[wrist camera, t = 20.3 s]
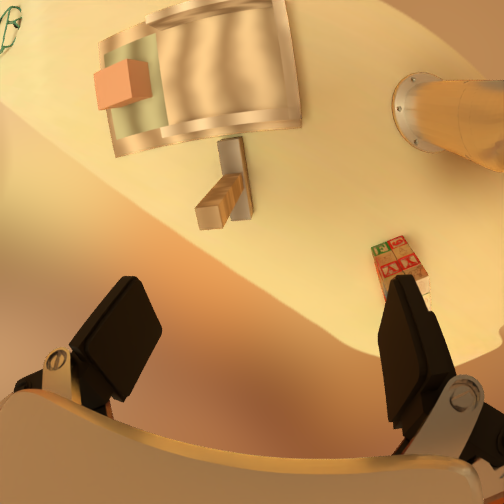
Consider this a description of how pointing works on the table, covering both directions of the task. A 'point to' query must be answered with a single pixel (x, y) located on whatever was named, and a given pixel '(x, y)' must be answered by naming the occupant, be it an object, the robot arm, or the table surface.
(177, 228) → the table surface
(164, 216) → the table surface
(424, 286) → the stack of blocks
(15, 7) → the sunglasses
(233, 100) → the cubby
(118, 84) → the block
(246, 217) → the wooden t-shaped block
